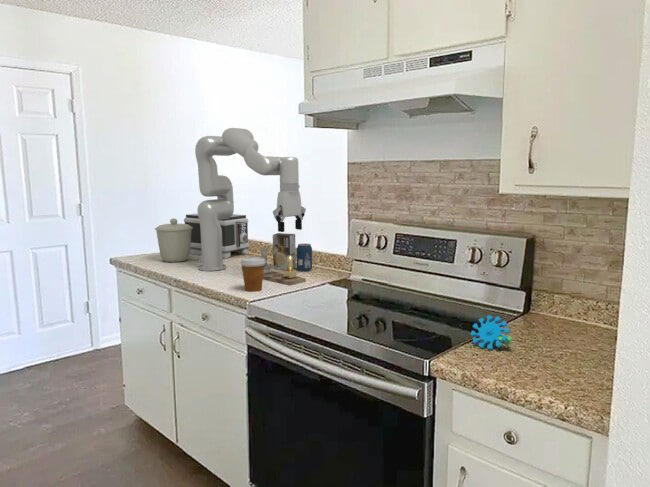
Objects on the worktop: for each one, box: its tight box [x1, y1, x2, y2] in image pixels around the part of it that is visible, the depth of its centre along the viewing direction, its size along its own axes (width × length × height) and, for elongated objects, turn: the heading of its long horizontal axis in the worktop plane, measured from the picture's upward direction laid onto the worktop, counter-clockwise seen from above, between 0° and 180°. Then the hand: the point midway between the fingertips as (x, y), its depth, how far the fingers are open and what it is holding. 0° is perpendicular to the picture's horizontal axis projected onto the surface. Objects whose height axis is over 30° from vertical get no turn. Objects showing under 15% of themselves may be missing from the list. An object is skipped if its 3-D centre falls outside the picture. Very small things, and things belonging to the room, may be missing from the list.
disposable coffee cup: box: [239, 256, 265, 293], centre depth 196 cm, size 10×10×12 cm
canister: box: [154, 217, 193, 263], centre depth 253 cm, size 18×18×21 cm
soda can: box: [296, 243, 313, 273], centre depth 231 cm, size 7×7×12 cm
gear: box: [470, 315, 514, 351], centre depth 137 cm, size 11×6×10 cm
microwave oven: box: [183, 213, 250, 260], centre depth 272 cm, size 18×34×21 cm, turn 57°
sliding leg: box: [282, 255, 298, 279], centre depth 209 cm, size 4×6×9 cm, turn 138°
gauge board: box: [260, 248, 306, 286], centre depth 214 cm, size 24×9×12 cm, turn 47°
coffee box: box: [272, 232, 297, 270], centre depth 235 cm, size 9×6×16 cm
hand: (290, 230), depth 207 cm, fingers open, 9 cm apart
